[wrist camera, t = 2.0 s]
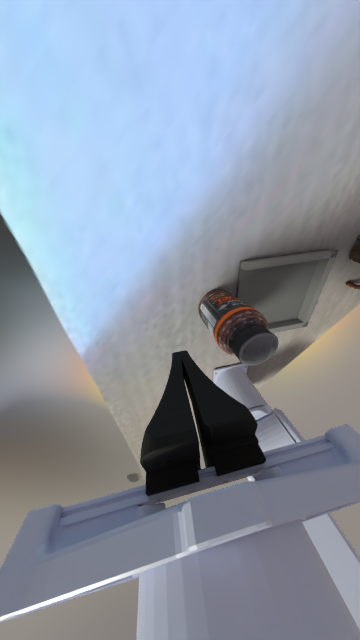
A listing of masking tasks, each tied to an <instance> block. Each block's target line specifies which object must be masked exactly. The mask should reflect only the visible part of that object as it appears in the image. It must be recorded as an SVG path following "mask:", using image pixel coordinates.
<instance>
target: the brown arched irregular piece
mask: <svg viewBox="0 0 360 640" xmlns="http://www.w3.org/2000/svg"><path fill="white" fill-rule="evenodd" d="M357 239H358V240H360V236H358V237H357ZM349 259H352V260H353V261H355V262H358V263H360V245H358V246H357V247H355V248H354V249H353V250H352V252H351V254H350V257H349ZM346 285H348V286H350V287H353V288H355V289H360V285H356V284H354V283H351V282H348V283H346Z"/></svg>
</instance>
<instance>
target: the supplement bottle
mask: <svg viewBox="0 0 360 640" xmlns="http://www.w3.org/2000/svg"><path fill="white" fill-rule="evenodd" d="M199 314H200V317H201V318H202V320H203V322H204V323H205V325H206V326H207V328H208V329H209V331H210V333H211V334H212V336H213V337H214V339H215V341H216V342H217V344H218V345H219V347H220V348H221V349H222V350H223V351H224V352H226V353H228V354H230V355H236V356H237V357H238V359H239V360H240V361H241V362H242V363H243V364H245V365H249V366H254V365H258V364H261V363H263V362H265V361H267V360H268V359H269V358H270V357H271V356H273V354H274V353H275V352H276V350H277V347H278V339H277V337H276V336H275V335H274V334H273V333H271V332H270V331H269V330H268V322H267V320H266V318H265V317H264V315H263V314H261V313H260V312H259V311H257V310H255V309H254V308H252V307H251V306H249V305H248V304H246V303H244V302H242V301H241V300H239V299H238V298H236V297H235V296H233V295H232V294H230V293H228V292H226V291H223V290H214V291H211V292H209V293H208V294H206V295H205V296H204V297H203V298H202V300H201V302H200V304H199Z"/></svg>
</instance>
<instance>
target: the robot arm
mask: <svg viewBox="0 0 360 640" xmlns="http://www.w3.org/2000/svg"><path fill="white" fill-rule="evenodd" d="M247 368H248V365H245V364H243V363H242V364H237V365H232V366H227V367H223V368H218V369H215V370H214V375H213V382H212V381H211V380H210V379H209V378H208V377H207V376H206V375H205V374H204V373H203V372H202V371H201V370H200V368H199V367H198V366H197V365H196V364H195V362H194V361H193V360H192V358H191V357H190V355H189V354H188V352H187V351H180V352H175V353H173V354H172V366H171V371H170V375H169V379H168V382H167V385H166V388H165V391H164V394H163V396H162V399H161V401H160V403H159V405H158V407H157V409H156V411H155V414H154V415H153V417H152V419H151V421H150V423H149V425H148V426H147V428H146V430H145V434H144V438H143V442H142V448H141V459H140V463H141V465H142V467H143V468H144V469H145V471H146V485H143V486H139V487H136V488H132V489H128V490H125V491H122V492H118V493H114V494H111V495H107V496H103V497H99V498H96V499H92V500H89V501H85V502H81V503H78V504H74V505H71V506H67V507H63V506H62V505H59V504H53V505H49V506H45V507H42V508H38V509H34V510H30V511H29V512H28V513H27V515H26V517H25V519H24V521H23V523H22V525H21V527H20V529H19V531H18V534H17V536H16V538H15V540H14V542H13V544H12V546H11V548H10V550H9V552H8V554H7V556H6V558H5V560H4V563H3V564H2V567H1V569H0V622H3V621H6V620H9V619H13V618H16V617H20V616H23V615H26V614H28V613H32V612H35V611H38V610H41V609H44V608H47V607H50V606H53V605H56V604H59V603H62V602H65V601H67V600H71V599H74V598H77V597H80V596H83V595H86V594H89V593H92V592H95V591H98V590H101V589H104V588H108V587H111V586H113V585H117V584H120V583H123V582H126V581H129V580H132V579H135V578H138V577H139V598H138V617H137V638H136V640H360V557H359V555H358V553H357V552H356V550H355V549H354V548H353V546H352V545H351V543H350V542H349V540H348V539H347V537H346V536H345V534H344V533H343V531H342V530H341V528H340V527H339V525H338V524H337V522H336V521H335V519H334V518H333V516H332V515H331V513H330V512H332V511H336V510H338V509H341V508H344V507H347V506H350V505H353V504H356V503H359V502H360V435H359V434H358V433H357V432H356V431H355V430H354V429H353V428H352V427H350V426H349V425H347V424H345V425H342V426H338V427H334V428H332V429H330V430H328V431H327V432H326V433H325V435H324V436H320V437H316V438H313V439H309V440H304V439H303V437H302V436H301V435H300V433H299V432H298V431H297V430H296V428H295V427H294V426H293V424H292V423H291V422H290V421H289V419H288V418H287V417H286V416H285V414H284V413H283V412H282V411H281V410H279V409H276V408H275V409H273V410H274V411H273V410H272V409H271V408H270V406H269V405H268V404H267V403H266V401H265V400H264V399H263V397H262V396H261V394H260V393H259V392H258V390H257V389H256V388H255V386H254V385H253V383H252V382H251V381H250V379H249V378H248V376H247V375H246V373H247ZM184 379H185V382H186V386H187V389H188V392H189V395H190V399H191V402H192V406H193V410H194V415H195V419H196V424H197V428H198V433H199V438H200V442H201V447H202V451H203V456H204V461H205V466H206V468H204V469H201V468H200V452H199V441H198V436H197V431H196V427H195V423H194V419H193V416H192V412H191V408H190V404H189V399H188V395H187V391H186V387H185V382H184ZM274 412H275V413H276V414H275V413H274ZM277 416H278V417H277ZM282 423H283V424H282ZM245 477H247V478H248V480H249V481H248V482H243V483H240V484H236V485H232V486H229V487H226V488H222V489H219V490H215V491H212V492H209V493H205V494H202V495H199V496H196V497H193V498H191V499H189V500H187V501H184V502H182V503H179V504H177V505H174V506H171V507H169V508H165V504H164V503H160V502H163V501H166V500H169V499H173V498H177V497H180V496H183V495H187V494H190V493H194V492H197V491H201V490H204V489H207V488H211V487H214V486H217V485H221V484H224V483H228V482H231V481H235V480H238V479H242V478H245ZM156 503H158V504H156Z"/></svg>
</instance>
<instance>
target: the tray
mask: <svg viewBox="0 0 360 640" xmlns="http://www.w3.org/2000/svg"><path fill="white" fill-rule="evenodd" d="M337 252H338V250H320V251H313V252H306V253H298V254H291V255H284V256H276V257H269V258H262V259H254V260H247V261H240V269H239V279H238V288H237V298H238V299H239V300H241V301H242V302H244V303H246V304H248V305H249V306H251V307H252V308H254V309H255V310H257V311H259V312H260V313H261V314H263V315H264V317H265V318H266V320H267V322H268V330H269V331H270V332H271V333H274V332H280V331H285V330H290V329H295V328H301V327H306V326H307V325H308V322H309V320H310V317H311V315H312V313H313V310H314V308H315V305H316V303H317V301H318V298H319V296H320V293H321V291H322V289H323V286H324V284H325V281H326V279H327V276H328V274H329V272H330V269H331V267H332V264H333V262H334V260H335V257H336V255H337Z"/></svg>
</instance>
